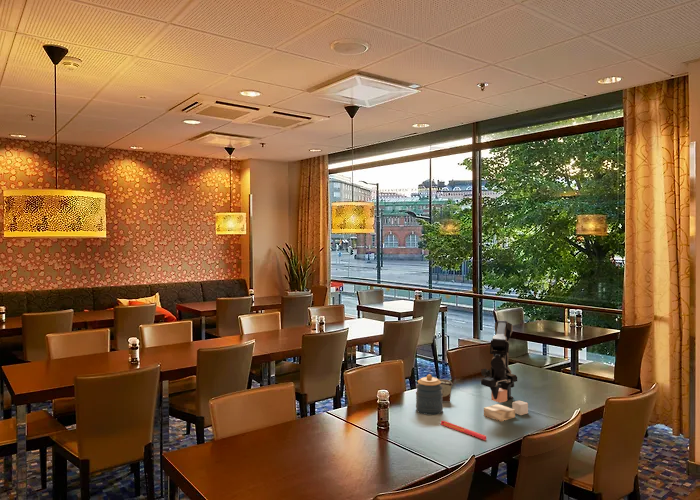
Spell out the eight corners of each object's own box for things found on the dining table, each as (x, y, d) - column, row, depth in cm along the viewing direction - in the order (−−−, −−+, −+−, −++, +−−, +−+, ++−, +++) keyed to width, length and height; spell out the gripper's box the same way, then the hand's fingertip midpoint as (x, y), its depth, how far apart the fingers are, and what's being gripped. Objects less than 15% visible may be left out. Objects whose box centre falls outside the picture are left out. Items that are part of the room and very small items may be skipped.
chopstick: (445, 425, 235) (438, 424, 233) (446, 420, 236) (439, 419, 233) (489, 441, 216) (482, 440, 214) (490, 436, 217) (483, 435, 214)
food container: (451, 398, 272) (451, 379, 271) (452, 401, 266) (452, 382, 265) (427, 397, 273) (427, 378, 273) (428, 401, 267) (428, 381, 267)
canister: (446, 408, 255) (445, 372, 255) (438, 416, 244) (438, 379, 243) (420, 405, 261) (420, 369, 260) (412, 413, 249) (412, 376, 249)
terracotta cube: (498, 398, 247) (498, 387, 247) (507, 400, 243) (507, 390, 243) (491, 399, 244) (491, 389, 244) (499, 402, 240) (499, 391, 240)
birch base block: (497, 412, 251) (497, 403, 251) (515, 417, 242) (515, 409, 242) (483, 416, 245) (483, 407, 245) (500, 422, 237) (501, 413, 237)
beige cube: (519, 410, 252) (519, 400, 252) (527, 413, 248) (527, 403, 247) (512, 412, 249) (512, 402, 249) (520, 415, 245) (520, 404, 245)
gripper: (499, 359, 255) (499, 390, 255) (472, 364, 245) (472, 397, 245) (518, 363, 245) (518, 396, 246) (490, 369, 236) (490, 403, 236)
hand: (499, 398), depth 244 cm, fingers closed on terracotta cube, 5 cm apart
